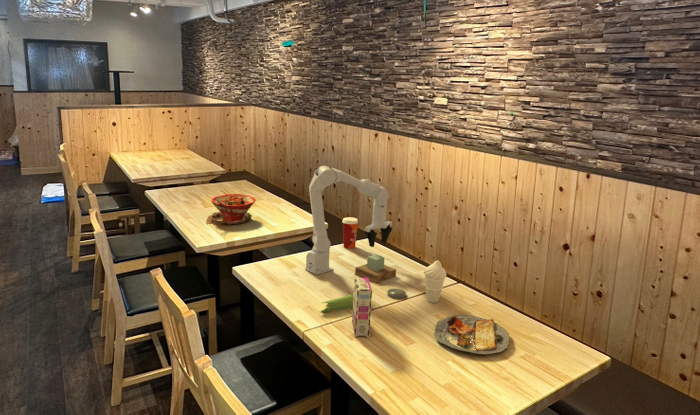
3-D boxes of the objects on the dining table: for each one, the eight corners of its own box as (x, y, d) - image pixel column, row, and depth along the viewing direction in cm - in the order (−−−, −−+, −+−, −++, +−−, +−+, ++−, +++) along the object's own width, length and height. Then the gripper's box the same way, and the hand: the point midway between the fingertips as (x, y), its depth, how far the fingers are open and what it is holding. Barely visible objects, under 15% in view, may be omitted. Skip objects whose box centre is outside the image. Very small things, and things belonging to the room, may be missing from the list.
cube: (375, 271, 219) (376, 260, 218) (366, 267, 222) (367, 256, 221) (383, 268, 222) (384, 257, 221) (375, 265, 226) (375, 254, 224)
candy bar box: (370, 337, 171) (372, 290, 167) (354, 337, 171) (356, 290, 167) (366, 321, 182) (368, 276, 178) (351, 321, 182) (353, 276, 177)
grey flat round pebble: (397, 301, 200) (397, 297, 199) (383, 295, 204) (383, 291, 204) (409, 296, 204) (409, 292, 204) (395, 290, 209) (395, 287, 209)
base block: (375, 283, 215) (376, 276, 214) (355, 274, 223) (355, 267, 222) (395, 276, 223) (396, 269, 222) (375, 267, 231) (375, 261, 230)
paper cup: (355, 250, 252) (356, 222, 249) (339, 248, 254) (340, 220, 250) (358, 245, 260) (359, 217, 256) (343, 243, 261) (344, 216, 257)
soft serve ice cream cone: (430, 306, 195) (433, 265, 191) (417, 298, 202) (420, 258, 198) (448, 303, 199) (452, 262, 195) (435, 294, 206) (438, 255, 202)
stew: (228, 231, 274) (227, 200, 270) (196, 222, 286) (195, 193, 282) (265, 219, 297) (265, 191, 292) (234, 212, 309) (233, 184, 305)
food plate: (440, 315, 189) (441, 306, 188) (508, 327, 182) (509, 317, 181) (429, 351, 165) (430, 341, 164) (507, 366, 159) (508, 355, 158)
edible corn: (371, 296, 192) (365, 288, 196) (321, 307, 183) (315, 298, 187) (368, 307, 195) (363, 299, 198) (319, 318, 186) (314, 310, 189)
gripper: (374, 219, 219) (372, 250, 223) (397, 213, 229) (395, 243, 233) (362, 215, 224) (360, 246, 228) (385, 210, 234) (384, 239, 238)
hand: (377, 244), depth 231 cm, fingers open, 7 cm apart
